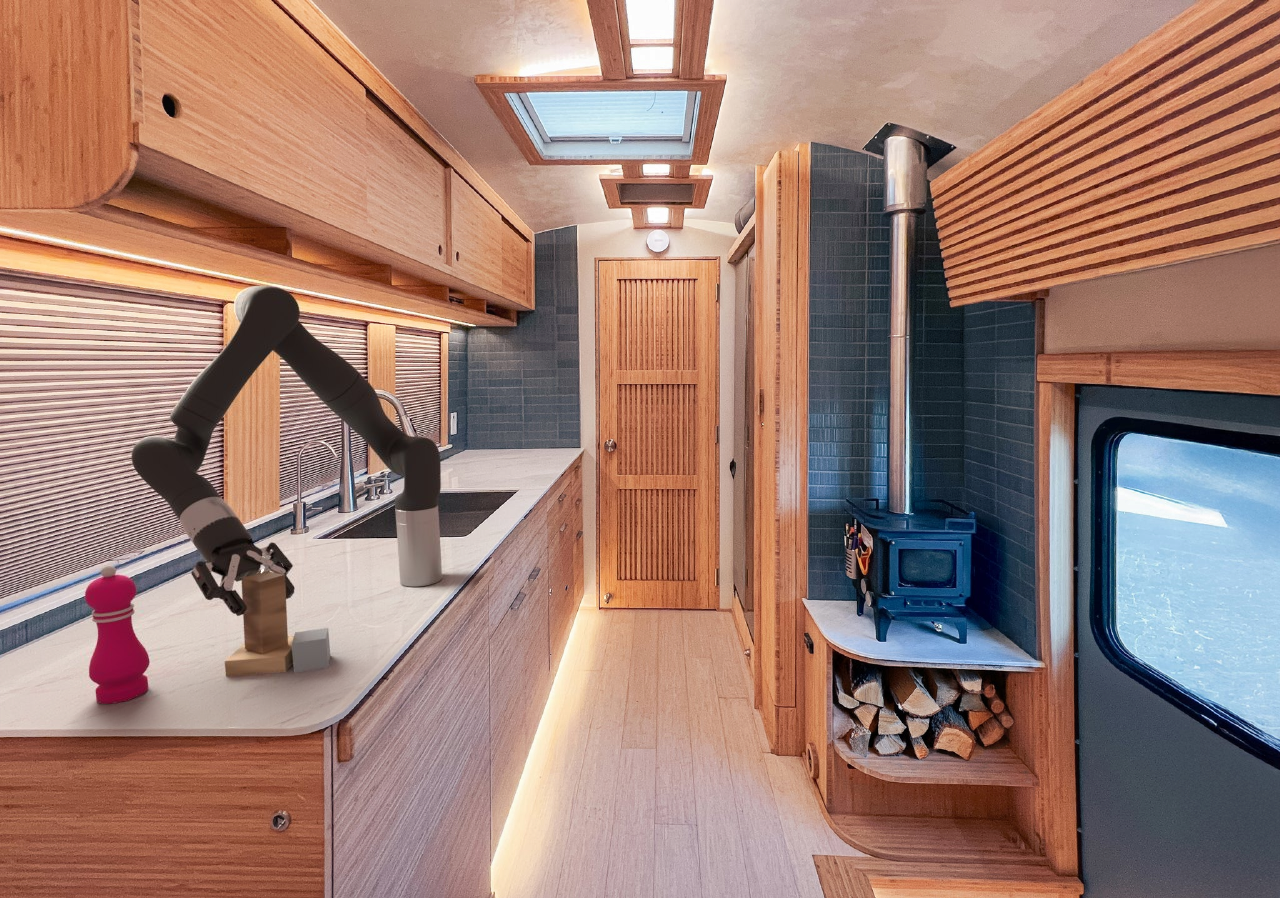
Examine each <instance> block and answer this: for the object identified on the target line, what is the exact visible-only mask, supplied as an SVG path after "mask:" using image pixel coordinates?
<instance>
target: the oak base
mask: <svg viewBox="0 0 1280 898" xmlns="http://www.w3.org/2000/svg"><path fill="white" fill-rule="evenodd" d="M293 638H294V635H291V636H290V635H289V636H288V645H285V646H282V647H280V648H277V649H275V650H272V651H269V652H267V653H264V654H261V653H258V652H254V651H250V650H247V649H245V642H244V643H243V644H242V645H241V646H240V647H239V648H238V649H236V650H234V652H233V653H232V654H231V655H230V656H228V657H227V658H226V659H225V660H224V669H225V676H226V677H231V676H245V675H248V676H249V675H260V674H271V673H286V672H287V671H288V670H289V669H290V667H291V666H292V665H293V655H292V641H293Z"/></svg>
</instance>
